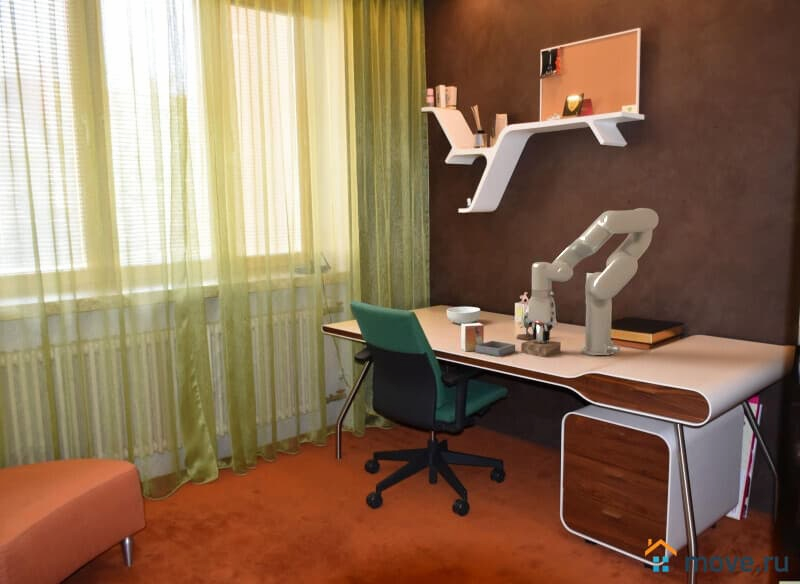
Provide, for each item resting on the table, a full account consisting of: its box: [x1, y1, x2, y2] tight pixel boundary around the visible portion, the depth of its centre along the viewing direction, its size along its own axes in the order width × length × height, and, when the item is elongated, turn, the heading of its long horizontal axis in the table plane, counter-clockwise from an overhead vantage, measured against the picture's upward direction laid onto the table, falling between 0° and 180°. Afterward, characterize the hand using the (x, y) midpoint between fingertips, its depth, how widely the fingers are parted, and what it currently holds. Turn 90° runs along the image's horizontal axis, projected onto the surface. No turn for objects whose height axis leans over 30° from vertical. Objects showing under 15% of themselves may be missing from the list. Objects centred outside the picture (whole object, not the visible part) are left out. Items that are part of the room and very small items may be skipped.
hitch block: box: [520, 339, 561, 358], centre depth 257 cm, size 11×11×4 cm
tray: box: [475, 340, 516, 358], centre depth 259 cm, size 11×11×3 cm
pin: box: [535, 321, 546, 345], centre depth 257 cm, size 5×5×13 cm
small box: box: [460, 322, 485, 352], centre depth 264 cm, size 8×6×10 cm
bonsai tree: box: [516, 312, 533, 342], centre depth 284 cm, size 11×9×12 cm
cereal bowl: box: [446, 306, 481, 325], centre depth 322 cm, size 17×17×7 cm
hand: (541, 339), depth 257 cm, fingers closed on pin, 4 cm apart
